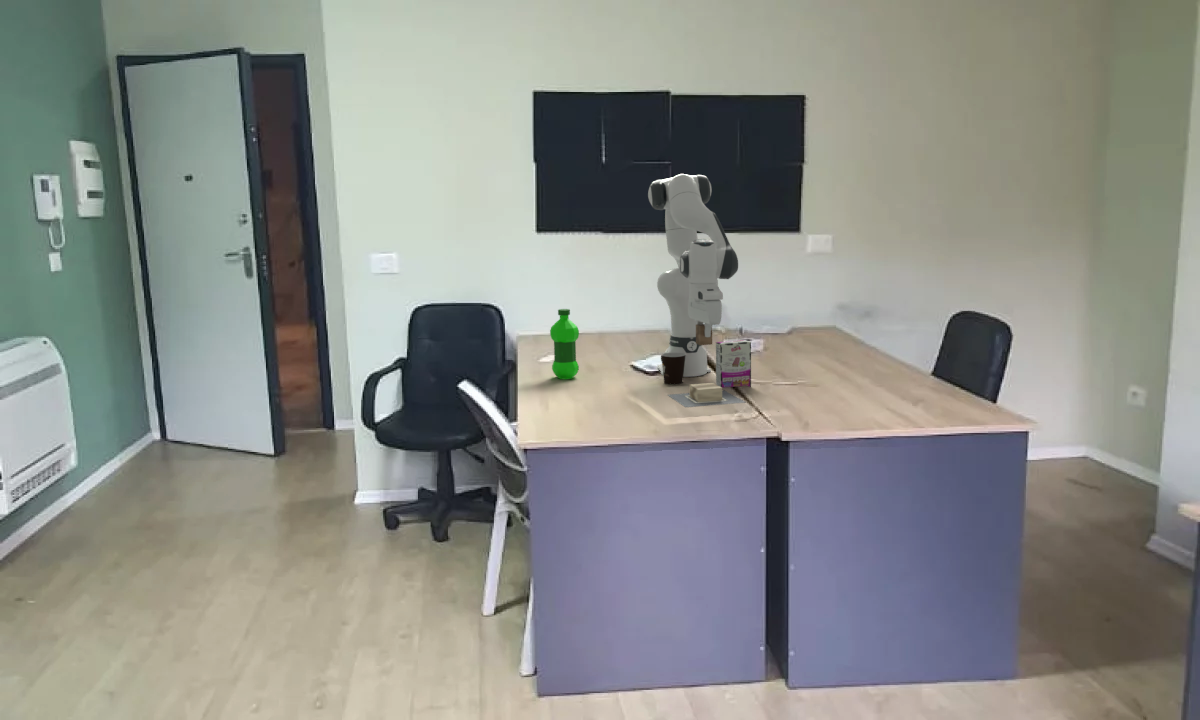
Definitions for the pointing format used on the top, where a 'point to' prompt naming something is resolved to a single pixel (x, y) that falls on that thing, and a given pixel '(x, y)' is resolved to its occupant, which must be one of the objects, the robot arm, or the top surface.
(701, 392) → the maple base block
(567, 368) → the plastic bottle
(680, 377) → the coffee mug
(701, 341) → the walnut block
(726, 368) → the candy bar box
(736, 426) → the top surface
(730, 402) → the board
